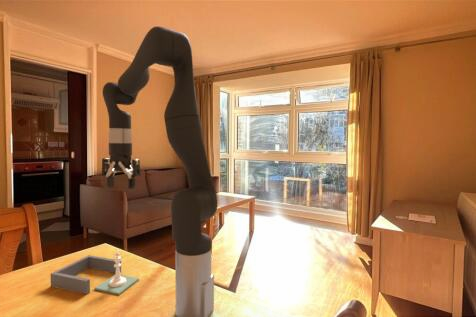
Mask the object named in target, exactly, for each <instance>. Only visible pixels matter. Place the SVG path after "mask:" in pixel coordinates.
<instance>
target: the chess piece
mask: <svg viewBox="0 0 476 317" xmlns="http://www.w3.org/2000/svg"><path fill="white" fill-rule="evenodd" d="M114 256H115V257H114V258H113V259H114V261H115V263H116V264H115V265H114V267H116V272H115V273H114V275H115V277H114V278H113V279H112V280H110V282H109V285H110V286H111V287H119V286H122V285H124V284H125V283H126V278H124V277H121V275H122V274H121V272H120V268H119V267H120V266H121V267H122V263H121V264H120V260H121V259H122V257H121V253H119V251H116V253H114ZM121 261H122V260H121Z"/></svg>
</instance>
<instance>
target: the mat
mask: <svg viewBox="0 0 476 317" xmlns="http://www.w3.org/2000/svg"><path fill="white" fill-rule="evenodd" d="M120 275H121V277H124V278H126V283H125V284H124V285H122V286H119V287H111V286H110V285H109V282H110V280H112V279H113V278H114V277H115V274H114V275H112V276H111V277H109V278H107V279H106V280H105V281H103V282H100V283H99V284H98V285H97V286H95V287H94V290H95V291H99V292H103V293H108V294H113V295H118V296H120V295H121V294H123V293H124V292H125V291H127V290H128V289H130V288H131V287H132V286H134V285H135V284H136V283H138V282H139V281H140V278H138V277H134V276H129V275H122V274H120Z"/></svg>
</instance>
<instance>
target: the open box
mask: <svg viewBox="0 0 476 317" xmlns="http://www.w3.org/2000/svg"><path fill="white" fill-rule="evenodd" d="M115 264H116V263H115V261H114V258H109V257H102V256H98V255H91V254H87V255H86V256H84V257H82V258H80V259H78V260H76V261H73V262H72V263H69V264H67V265H65V266H63V267H61V268H59V269H58V270H55V271H53V272H51V273H50V287H53V288H57V289H61V290H66V291H70V292H74V293H79V294H84V295H89V293H91V283H90V282H91V279H90V278H87V277H81V276H77V275H79V274H80V273H82V272H84V271H86V270H88V269H93V270H98V271H103V272H110V273H114V274H115V272H116V267H114V265H115ZM120 264H121V266H120V267H119V268H120V273H122V260H120Z"/></svg>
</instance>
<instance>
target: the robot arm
mask: <svg viewBox="0 0 476 317" xmlns="http://www.w3.org/2000/svg"><path fill="white" fill-rule="evenodd" d="M192 50H193V49H192V45H191V42H190V38H189V37H188V36H187V35H186V34H185V33H184V32H181V31H178V30H174V29H170V28H167V27H163V26H156V25H155V26H153V27H152V28H150V29H149V30H148V32H146V34H145V36H144V38H143V40H142V41H141V44H140V46H139V47H138V49H137V51H136V53H135V55H134V57H133V59H132V61H131V64H130V65H129V66H128V67H127V69H126V70H124V72H123V73H122V74H121V75H120V76H119V77H118V80H117V82H111V81H108V82H107V83H105V84H104V85H103V87H102V97H103V100H104V103H105V107H106V109H107V113H108V114H107V115H108V128H109V129H108V155H109V156H110V157H103V158H102V159H101V175H102V176H105V177H106V179H107V180H106V183H107V184H106V185H107V188H110V189H111V188H114V187H115V174H116V173H117V172H118V171H119V172H123V173H124V174H125V175H127V177H128V180H127V181H128V182H127V184H128V185H127V188H128V190H133V189H134V188H135V187H136V178H137V177H140V176H141V164H140V163H141V162H140V161H141V160H140V159H139V158H135V159H133V158H132V155H133V134H132V115H131V114H130V112H128V111H125V110H122V109H120V108H119V106H118V105H122V106H130V105H133V104H135V103H136V101H137V97H138V95H139V93H140V91H141V90H143V89H144V88H145V87H146V86H147V84H148V83H149V81H150V69H149V68H150V67H151V66H152V65H156V64H157V65H159V66H163V67H164V66H165V67H171V68H172V70H173V75H174V87H173V90H172V92H171V95H170V97H169V100H168V102H167V103H166V107H165V110H164V114H163V115H164V116H163V117H164V125H165V130H166V137H167V140H168V143H169V145H170V147H171V148H172V150H173V151H174V153H175V154H176V156H177V157H178V159H179V160H180V161H181V163H182V164H183V167H184V169H185V172H186V175H187V180H188V186H189V187H187V188H186V187H185V188H181V189H180V190H177V191H176V193H175V194H174V195H173V198H172V201H171V208H170V211H171V212H170V213H171V214H170V216H171V217H170V218H171V234H172V239H173V241H174V244H175V317H210V315H212V314H211V313H213V310H214V309H215V308H214V307H215V302H214V301H215V275H214V274H212V243H213V242H212V238H211V236H210V235H209V234H207V233H204V232H202V222H204V221H207V220H209V219H211V218H212V217H214V216H215V214H216V212H217V210H218V196H217V193H216V189H215V185H214V182H213V177H212V174H211V170H210V165H209V163H208V157H207V150H206V146H205V142H204V141H205V140H204V136H203V127H202V122H201V116H200V111H199V107H198V101H197V93H196V87H195V77H194V65H193V64H194V62H193V53H192V52H193V51H192Z"/></svg>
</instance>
